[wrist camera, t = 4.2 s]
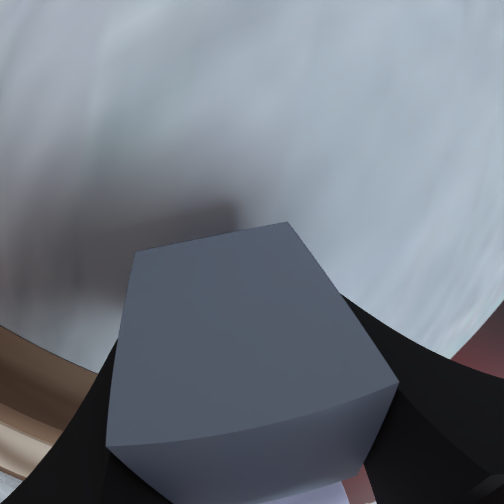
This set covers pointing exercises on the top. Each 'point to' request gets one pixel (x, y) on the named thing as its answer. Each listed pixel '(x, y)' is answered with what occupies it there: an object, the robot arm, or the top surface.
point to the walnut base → (34, 401)
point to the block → (242, 372)
